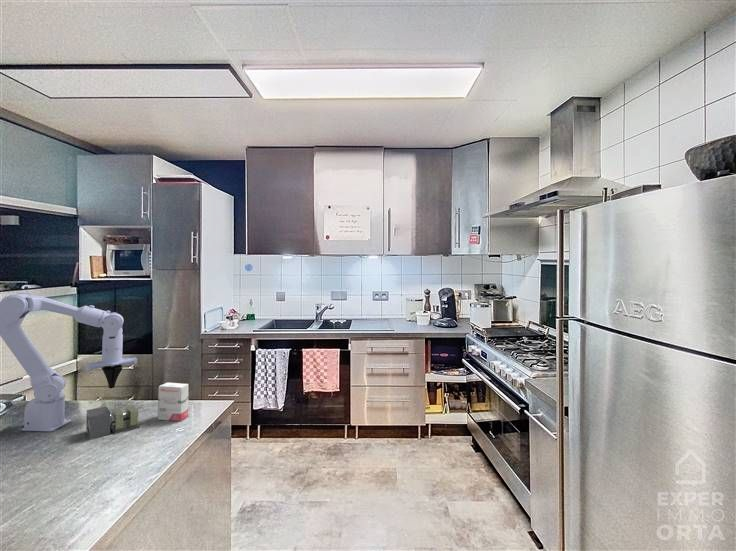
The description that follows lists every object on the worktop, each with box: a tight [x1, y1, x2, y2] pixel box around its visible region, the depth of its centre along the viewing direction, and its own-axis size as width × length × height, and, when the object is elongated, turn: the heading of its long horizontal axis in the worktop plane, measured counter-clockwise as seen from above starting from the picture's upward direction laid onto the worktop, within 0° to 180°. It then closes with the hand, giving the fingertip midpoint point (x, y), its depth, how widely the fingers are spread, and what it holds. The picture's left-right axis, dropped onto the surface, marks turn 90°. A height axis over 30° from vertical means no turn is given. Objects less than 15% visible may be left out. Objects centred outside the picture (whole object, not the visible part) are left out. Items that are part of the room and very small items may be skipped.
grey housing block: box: [85, 405, 112, 440], centre depth 112 cm, size 5×7×7 cm
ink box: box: [157, 382, 189, 422], centre depth 125 cm, size 9×5×12 cm, turn 84°
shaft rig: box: [88, 404, 141, 435], centre depth 115 cm, size 13×8×6 cm, turn 136°
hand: (111, 387), depth 124 cm, fingers closed
